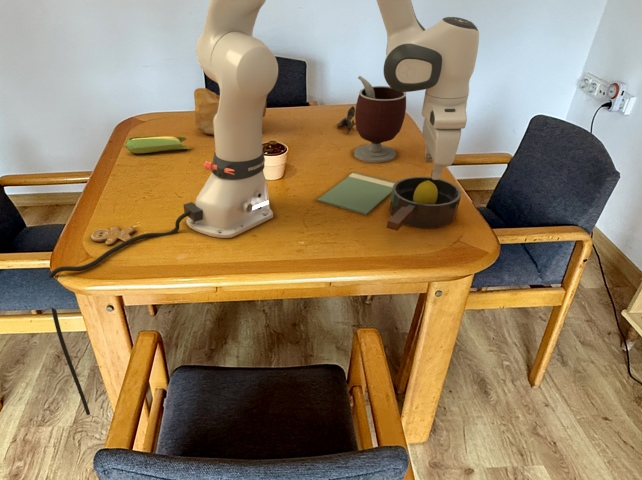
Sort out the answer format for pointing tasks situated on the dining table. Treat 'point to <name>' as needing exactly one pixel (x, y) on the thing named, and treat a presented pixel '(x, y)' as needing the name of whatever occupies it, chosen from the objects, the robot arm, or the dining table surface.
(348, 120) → the eagle figurine
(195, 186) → the dining table surface
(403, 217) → the pan handle
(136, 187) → the dining table surface
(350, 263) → the dining table surface
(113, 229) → the cookie
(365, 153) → the mate gourd
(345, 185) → the tea towel
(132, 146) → the edible corn
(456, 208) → the pan
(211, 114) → the rough brown rock
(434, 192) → the lemon
